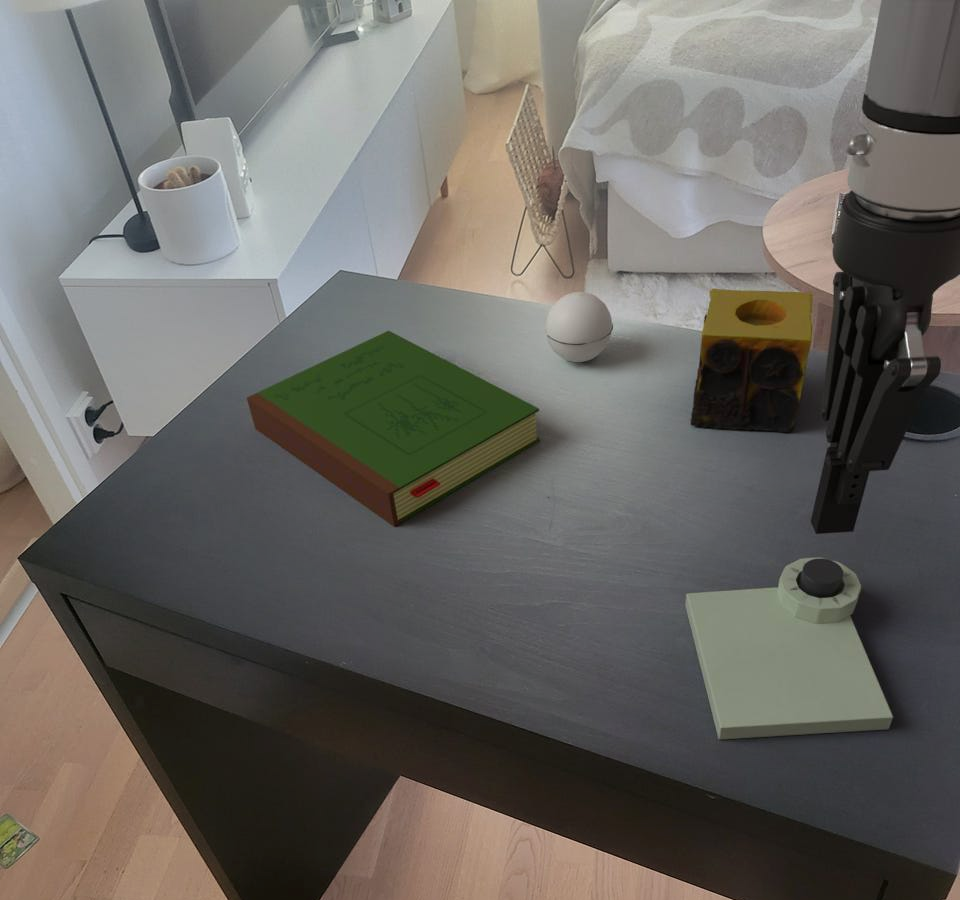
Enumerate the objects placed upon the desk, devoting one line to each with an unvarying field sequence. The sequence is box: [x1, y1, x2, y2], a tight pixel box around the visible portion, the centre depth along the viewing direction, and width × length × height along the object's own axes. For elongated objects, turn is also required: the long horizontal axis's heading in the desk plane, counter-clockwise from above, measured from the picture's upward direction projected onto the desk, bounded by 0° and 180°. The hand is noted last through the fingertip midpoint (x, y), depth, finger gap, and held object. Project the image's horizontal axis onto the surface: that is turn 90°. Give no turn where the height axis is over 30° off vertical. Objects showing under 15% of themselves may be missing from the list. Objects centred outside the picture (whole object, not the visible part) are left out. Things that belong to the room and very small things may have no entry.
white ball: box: [544, 291, 632, 363], centre depth 103 cm, size 10×7×7 cm
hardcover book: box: [246, 330, 541, 528], centre depth 97 cm, size 25×19×4 cm
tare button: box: [799, 557, 843, 598], centre depth 74 cm, size 3×3×2 cm
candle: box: [690, 288, 814, 433], centre depth 94 cm, size 10×10×10 cm
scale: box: [684, 557, 894, 740], centre depth 72 cm, size 13×15×3 cm
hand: (831, 526), depth 70 cm, fingers closed
